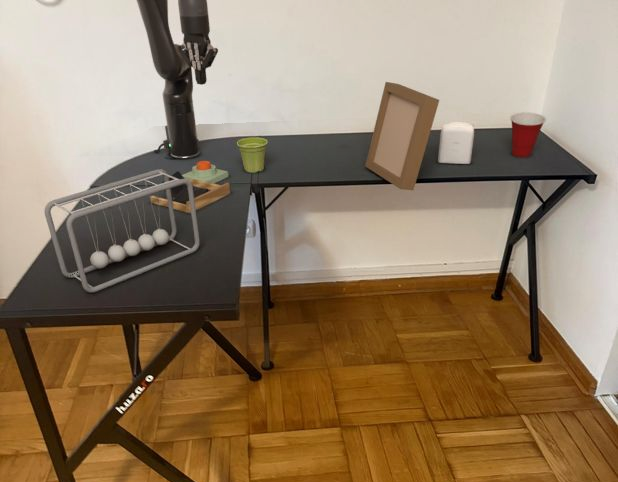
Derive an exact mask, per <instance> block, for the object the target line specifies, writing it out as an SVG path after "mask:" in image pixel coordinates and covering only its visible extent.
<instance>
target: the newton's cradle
mask: <svg viewBox="0 0 618 482" xmlns="http://www.w3.org/2000/svg"><path fill="white" fill-rule="evenodd" d="M160 176H162V177H163V181H164V183H162V182H161V183H162V184H161V183H159V184H156V183H153V182H152V181H149V180H151V179H153V178H157V177H160ZM169 177H170V178H172V179H175V180H171V181H169ZM140 182H144V184H145V187H146V188H143V189H141V188H139V187H137V186H135V185H133V184H137V183H140ZM147 182H148V183H151V184H153V185H152V186H150V187H148V184H147ZM182 184H186V185H187V187H188V194H189V202H190V209H191V213H190V215H191V222H192V230H193V237H194V245H193V246H192V247H191V248H190V247H188V246H186V245H184V244H182V243H181V242H178V241H176V240H175V238H176V236H177V232H178V228H177V224H176V215H175V211H174V210H175V209H173V202H172V201H173V200H172V196H171V189H170V188H173V187H176V186H179V185H182ZM128 186H129V187H130V193H127V194H126V193H124V192H122V191H119V190H118V189H121V188H123V187H128ZM132 187H134V188H136V189H138V190H136V191H133V189H132ZM193 187H194V186H192V184H191V182H190V181H189V180H188V179H177V178H175V177H172V175H169V174H168V173H167V171H166V170H165V169H162V168H159V169H158V168H157V169H154V170H151V171H147V172H144V173H141V174H137V175H134V176H130V177H127V178H124V179H121V180H117V181H112V182H110V183H107V184H103V185H100V186H97V187H94V188H90V189H87V190H82V191H80V192H76V193H72V194H70V195H66V196H63V197H60V198H56V199H53V200H51V201H49V202H47V204H46V205H45V207H44V216H45V219H46V223H47V227H48V230H49V233H50V237H51V241H52V244H53V247H54V250H55V251H54V252H55V254H56V258H57V261H58V266H59V268H60V271H61V273H62V275H63V276H64V277H66V278H67V279H74V278H76V279H77V280H78V281H80V282H81V286H82V288H83V290H84V291H85V292H87V293H89V294H94V293H97V292H101V291H103V290H104V289H107V288H109V287H112V286H115V285H117V284H119V283H122V282H124V281H126V280H129V279H132V278H134V277H137V276H139V275H142V274H144V273H146V272H147V273H148V272H149V271H152V270H154V269H156V268H159V267H162V266H164V265H166V264H169V263H170V262H171V263H172V262H174V261H176V260H179V259H181V258H184V257H186V256H188V255H191V254H193V253H196V252H197V251H198V249H199V247H200V244H201V240H200V239H201V238H200V231H199V225H198V218H197V217H198V216H197V210H196V209H195V201H194V194H193ZM164 190H166V192H165V191H164ZM110 191H114V194H115V196H116V197H114V198H111V199H110V198H107V197H105V196H104V195H101V194H104V193H108V192H110ZM116 192H118V193H121V194H122V195H120V196H118V195H117V193H116ZM160 192H165V194H166V199H167V201H168V207H167V208H168V212H169V219H170V226H171V234H170V235H169V233H168V231H167V230H165V229H163V228H161V227H159V226H161V216H160V215H161V214H160V212H158V219H159V220H158V221H157V217H156V214H155V210H154V206H153V203H152V202H151V196H152V195H154V194H158V193H160ZM94 196H97V197H98V199H99V202H98V203H95V204H92V203H90V202H88V201H87V200H85V199H88V198H91V197H94ZM100 196H101V197H103V199H106V200H105V201H101V197H100ZM145 197H148V198H149V201H150V205H151V208H152V209H151V210H152V212H153V216H154V220H155V223H156V227H157V229H155V230H154V231H153V233H152V235H151V234H149V233H147V228H146V227H147V226H146V225H144V227H143V223H142V219H141V217H140V213H139V209H138V206H137V203H136V200H139V199H141V198H142V199H143V198H145ZM157 197H158V205H157V209H158V210H160V205H159V198H160V197H159V196H157ZM78 201H81V204H82V207H83V208H82V207H81V208H79V209H75V210H73V211H71V210H69V209H67V208H65V207H64V206H65V205H68V204H71V203H74V202H78ZM132 201H134V205H135V209H136V212H137V215H138V219H139V222H140V226H141V230H142V233H143V234H142V235H140V236H139V237H138V240H136V239H132V232H131V230H129V233H128V228H127V225H126V222H125V218H124V215H123V212H122V208H121V205H123V204H126V207H127V209H129V203H130V202H132ZM84 202H85V203H87V204H89V206H85V205H84ZM55 206H56V207H57V208H59V209H61V210H62V211H64V212H66V213H68V214H70V215H69V216H68V218H67V219H66V223H65V225H66V230H67V233H68V237H69V241H70V245H71V249H72V252H73V256H74V261H75V264H76V268H77V270H76V271H73V272H69V271H68V269H67V267H66V263H65V260H64V256H63V255H64V254H63V252H62V249H61V244H60V241H59V238H58V234H57V231H56V227H55V224H54V219H53V216H52V212H51V211H52V209H53V207H55ZM116 206H118V208H119V211H120V214H121V217H122V221H123V224H124V228H125V231H126V234H127V237H128V239H127V240H126V241H125V242H124V243H123V245H119V244H117V240H116V234H115V233H116V232H115V224H114V217H113V208H114V207H116ZM142 208H143V209H142V210H143V211H145V202H144V200H142ZM107 209H110V213H111V221H112V228H113V236H112V233H111V230H110V227H109V223H108V219H107V216H106V213H105V211H106V210H107ZM101 211H102V212H103V215H104V218H105V222H106V226H107V228H108V231H109V234H110V238H111V241H112V244H113V245H111V246H110V247H108V250H107V253H106V252H104V251H101V250H100V249H99V248H100V247H97V246H99V240H98V231H97V223H96V222H97V221H96V213H98V212H101ZM129 211H130V210H127V218H128V219H130V212H129ZM92 214H93V218H94V227H95V235H96V241H95V238H94V235H93V231H92V229H91V225H90V222H89V218H88V215H92ZM145 215H146V214H145V212H143V222H144V223H146V216H145ZM83 217H86V221H87V224H88V227H89V231H90V233H91V238H92V241H93V244H94V247H95V250H96V251H95V252H93V253H92V254H91V256H90V264H91V265H89V266H87V267H86V266H85V267H84V264H83V260H82V256H81V253H80V249H79V245H78V241H77V238H76V234H75V230H74V225H73V224H74V222H75V221H76V220H77V219H79V218H83ZM158 222H159V223H158ZM128 227H129V229H131V221H130V220H128ZM129 234H130V235H129ZM113 237H114V238H113ZM169 242H174V244H177V245H179V246H181V247H182V248H185V250H183V251H180V252H178V253H176V254H173V255H170V256H168V257H165V258H162V259H161V260H158V261H155V262H153V263H151V264H148V265H146V266H143V267H140V268H138V269H135V270H133V271H131V272H128V273H126V274H122V275H121V276H118V277H116V278H113V279H110V280H108V281H106V282H103V283H101V284H98V285H96V286H92V285H91V284H89V282H88V279H87V275H86V274H88V273H90V272H92V271H95V270H98V269H104V268H106V267H107V266H109V265H111V264H114V263H119V262H122V261H123V260H124V259H127V258H129V257H135V256H137V255H139V254H140V253H142V252H145V251H146V252H148V251H151V250H153V249H154V248H156V247H158V246H164V245H167V243H169ZM96 244H97V245H96ZM77 272H78V273H77ZM74 273H75V274H74ZM72 274H73V275H72ZM70 275H71V276H70ZM67 276H68V277H67Z"/></svg>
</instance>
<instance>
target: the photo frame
mask: <svg viewBox="0 0 618 482" xmlns="http://www.w3.org/2000/svg"><path fill="white" fill-rule="evenodd" d="M439 103H440V99H439V98H435V97H433V96H431V95H428V94H425V93H423V92H420V91H418V90H415V89H413V88H410V87H407V86H405V85H403V84H400V83H395V82H391V81H390V82H389V81H385V82H384V88H383V91H382V94H381V100H380V104H379V108H378V112H377V116H376V120H375V125H374V128H373V132H372V137H371V141H370V145H369V147H368V153H367V157H366V161H365V166H364V167H366V168H367V169H369V170H370V171H372V172H373V173H375V174H376V175H378V176H379V177H381V178H382V179H384V180H385V181H387V182H388V183H390V184H391V185H394V186H395V187H397V188H398V189H400V190H403V191H404V190H405V191H414V190H415V187H416V183H417V179H418V177H419V174H420V173H419V172H420V169H421V166H422V162H423V160H424V159H423V158H424V155H425V152H426V148H427V145H428V141H429V137H430V134H431V131H432V128H433V124H434V120H435V117H436V113H437V110H438V107H439Z"/></svg>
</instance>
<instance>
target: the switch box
mask: <svg viewBox="0 0 618 482" xmlns="http://www.w3.org/2000/svg"><path fill="white" fill-rule="evenodd" d="M210 165H211V169H208V170H198V169H197V164H196V165H194V166H192V168H191V171H188V172H186V173H183V174H181V175H182V176H183V177H184V178H185V179H188V180H189V181H190V179H196V180H200V181H205V182H209V183H213V184H217V183H218V182H220V181H222V180H225V179H227V178H229V171H228V170H223V169H219V168H217V166H216V165H215V164H211V163H210Z"/></svg>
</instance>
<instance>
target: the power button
mask: <svg viewBox="0 0 618 482" xmlns="http://www.w3.org/2000/svg"><path fill="white" fill-rule="evenodd" d="M210 164H211V162H210V161H208V160H200V161H198V162H196V165H197V169H198V170H208V169H211V165H210Z"/></svg>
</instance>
